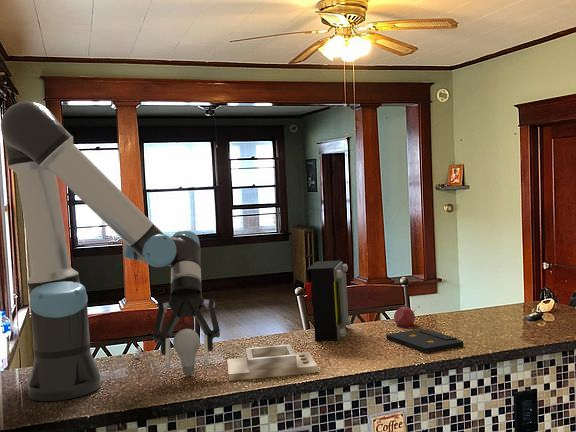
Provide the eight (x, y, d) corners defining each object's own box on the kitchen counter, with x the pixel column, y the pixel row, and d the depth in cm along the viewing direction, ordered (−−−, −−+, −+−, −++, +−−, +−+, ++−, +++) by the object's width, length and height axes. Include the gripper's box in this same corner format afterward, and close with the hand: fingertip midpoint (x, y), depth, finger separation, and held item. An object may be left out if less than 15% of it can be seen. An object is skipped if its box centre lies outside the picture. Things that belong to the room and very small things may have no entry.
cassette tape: (464, 348, 151) (463, 340, 151) (425, 356, 146) (425, 347, 146) (421, 335, 167) (421, 327, 167) (386, 341, 163) (385, 333, 163)
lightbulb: (206, 372, 141) (203, 326, 141) (195, 380, 135) (192, 332, 135) (182, 372, 143) (179, 326, 142) (170, 380, 137) (167, 331, 136)
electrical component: (345, 341, 164) (341, 267, 163) (308, 341, 166) (303, 269, 165) (351, 326, 181) (347, 260, 180) (318, 327, 183) (314, 261, 182)
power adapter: (144, 359, 159) (143, 347, 159) (134, 361, 158) (133, 349, 158) (141, 357, 162) (140, 345, 161) (131, 358, 160) (130, 347, 160)
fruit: (415, 333, 176) (425, 308, 178) (400, 325, 174) (411, 300, 176) (403, 329, 182) (414, 305, 183) (389, 322, 180) (399, 297, 181)
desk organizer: (228, 380, 134) (227, 363, 133) (227, 365, 146) (226, 348, 146) (317, 372, 136) (316, 354, 136) (309, 357, 149) (308, 341, 149)
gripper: (228, 289, 155) (234, 368, 139) (145, 296, 152) (142, 377, 137) (227, 271, 149) (233, 351, 134) (141, 277, 147) (137, 360, 132)
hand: (187, 364), depth 135 cm, fingers open, 8 cm apart
